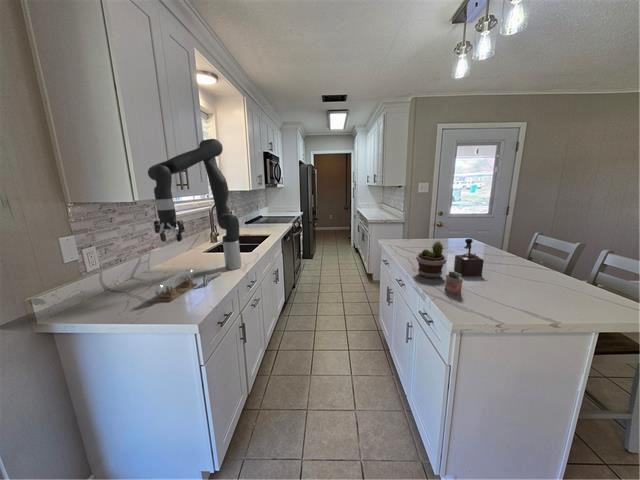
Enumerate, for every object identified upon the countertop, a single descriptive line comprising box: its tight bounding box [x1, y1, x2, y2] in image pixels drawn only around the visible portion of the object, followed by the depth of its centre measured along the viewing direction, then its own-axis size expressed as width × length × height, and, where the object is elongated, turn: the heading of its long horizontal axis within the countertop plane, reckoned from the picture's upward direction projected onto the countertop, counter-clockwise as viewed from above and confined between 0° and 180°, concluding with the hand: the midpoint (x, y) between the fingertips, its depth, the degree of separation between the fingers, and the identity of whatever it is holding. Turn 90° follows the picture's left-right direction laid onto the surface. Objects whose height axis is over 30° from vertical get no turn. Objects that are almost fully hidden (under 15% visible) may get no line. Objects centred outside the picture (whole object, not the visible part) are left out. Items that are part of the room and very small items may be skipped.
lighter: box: [443, 270, 464, 297], centre depth 115 cm, size 8×3×10 cm, turn 23°
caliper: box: [202, 271, 223, 287], centre depth 138 cm, size 20×1×6 cm, turn 178°
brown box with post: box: [453, 238, 485, 278], centre depth 141 cm, size 16×11×18 cm
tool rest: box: [153, 276, 198, 303], centre depth 122 cm, size 19×8×6 cm, turn 170°
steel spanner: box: [154, 268, 194, 296], centre depth 121 cm, size 23×3×4 cm, turn 170°
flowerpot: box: [415, 239, 447, 280], centre depth 136 cm, size 14×15×20 cm
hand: (171, 241), depth 125 cm, fingers open, 8 cm apart
